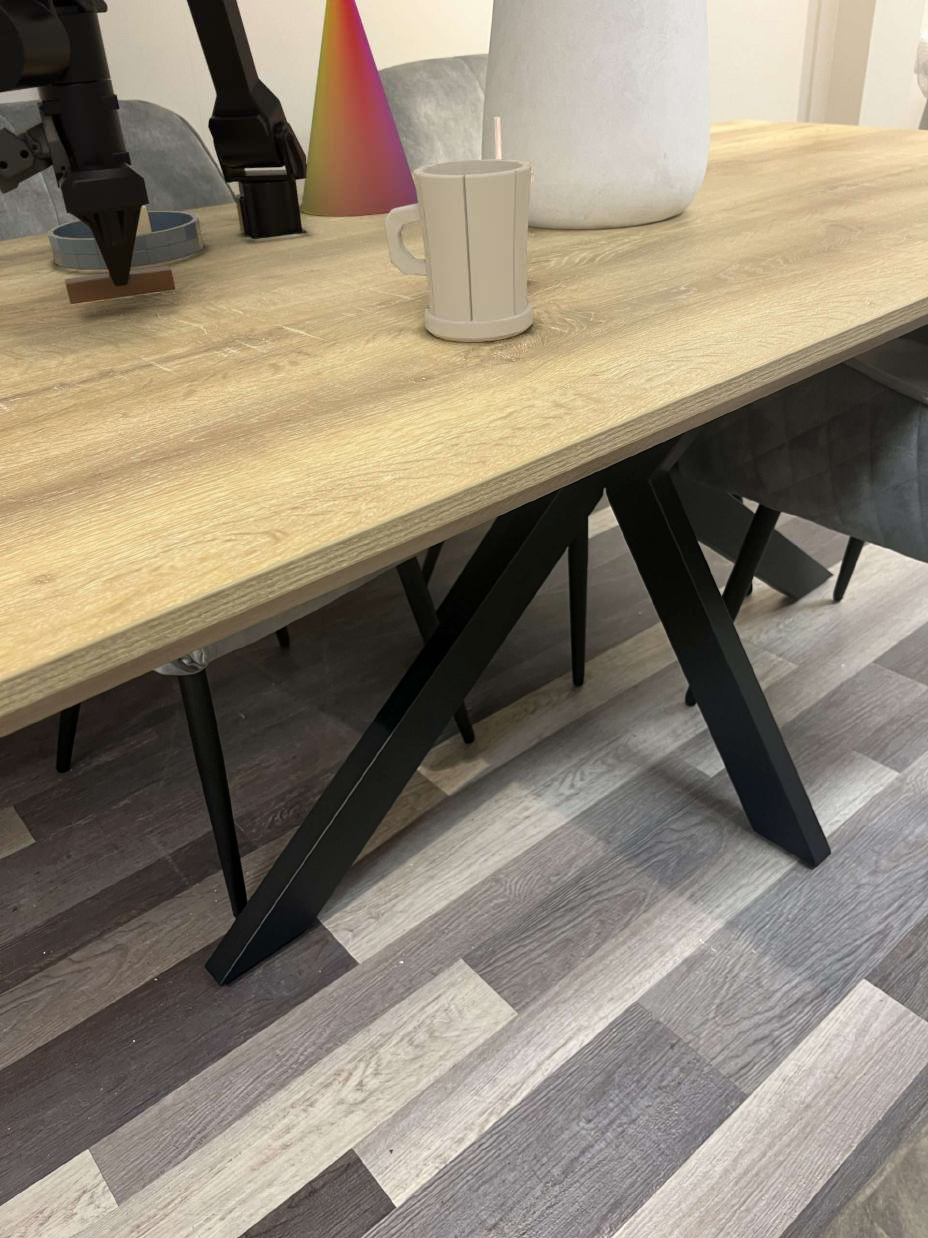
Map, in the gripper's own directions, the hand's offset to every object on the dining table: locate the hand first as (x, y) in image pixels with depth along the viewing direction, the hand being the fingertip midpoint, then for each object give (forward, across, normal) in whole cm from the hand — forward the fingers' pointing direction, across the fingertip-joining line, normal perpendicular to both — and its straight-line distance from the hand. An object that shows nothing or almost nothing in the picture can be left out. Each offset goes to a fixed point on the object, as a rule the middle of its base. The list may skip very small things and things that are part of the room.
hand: (120, 282), depth 87 cm
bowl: (+3, -28, +3) cm, 28 cm away
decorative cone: (+3, -44, +35) cm, 56 cm away
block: (+3, -27, +3) cm, 27 cm away
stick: (+1, 0, 0) cm, 1 cm away
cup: (+3, +20, +25) cm, 32 cm away
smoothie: (+3, +8, +33) cm, 34 cm away
